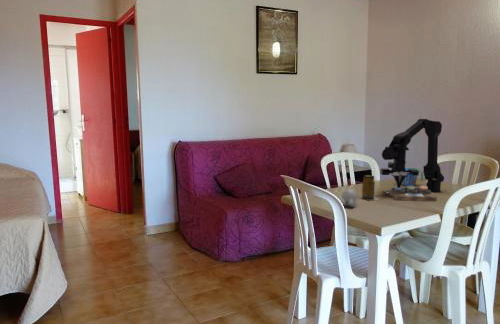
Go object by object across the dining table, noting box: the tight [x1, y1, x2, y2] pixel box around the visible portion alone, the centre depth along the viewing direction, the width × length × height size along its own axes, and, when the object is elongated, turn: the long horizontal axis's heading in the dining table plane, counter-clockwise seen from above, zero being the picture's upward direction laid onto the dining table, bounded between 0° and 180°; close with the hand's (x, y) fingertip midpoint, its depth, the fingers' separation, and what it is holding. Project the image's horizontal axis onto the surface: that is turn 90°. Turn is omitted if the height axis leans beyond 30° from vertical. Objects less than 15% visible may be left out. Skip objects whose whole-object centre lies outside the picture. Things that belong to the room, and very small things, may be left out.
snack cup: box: [401, 167, 424, 187], centre depth 241 cm, size 16×10×10 cm
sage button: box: [406, 185, 416, 190], centre depth 212 cm, size 4×4×2 cm
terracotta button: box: [418, 185, 428, 190], centre depth 211 cm, size 4×4×2 cm
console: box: [388, 187, 438, 202], centre depth 209 cm, size 20×14×4 cm
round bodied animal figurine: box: [340, 188, 358, 208], centre depth 192 cm, size 7×12×8 cm, turn 145°
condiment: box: [358, 174, 379, 201], centre depth 207 cm, size 7×8×12 cm
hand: (398, 187), depth 212 cm, fingers closed, pressing on slate blue button
